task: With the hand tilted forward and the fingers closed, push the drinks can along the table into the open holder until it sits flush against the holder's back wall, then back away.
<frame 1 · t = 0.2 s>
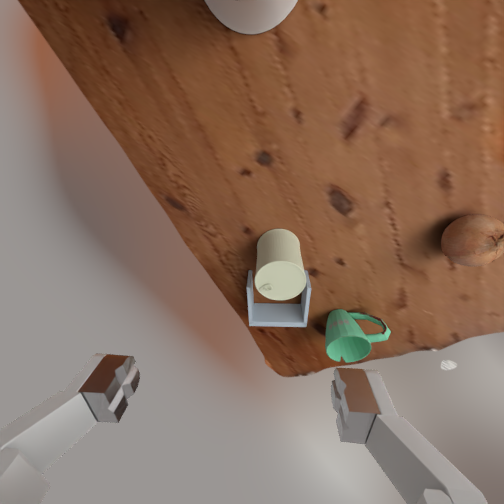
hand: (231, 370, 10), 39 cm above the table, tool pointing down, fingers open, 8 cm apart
holder: (277, 288, 59), on the table
mug: (347, 312, 62), on the table
onion: (456, 229, 47), on the table
can: (278, 246, 52), on the table
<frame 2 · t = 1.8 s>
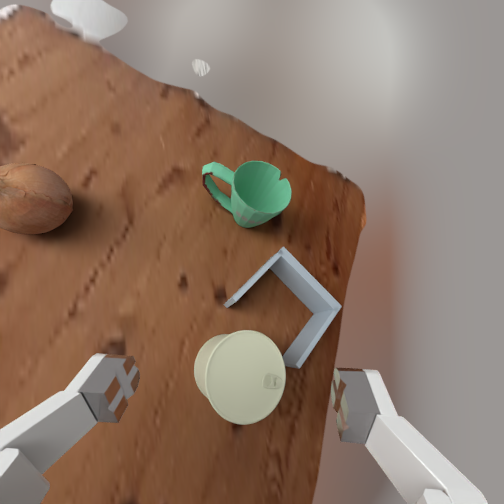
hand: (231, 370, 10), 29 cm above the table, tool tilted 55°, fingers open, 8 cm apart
holder: (274, 309, 42), on the table
mug: (233, 212, 46), on the table
onion: (45, 215, 36), on the table
can: (225, 366, 36), on the table
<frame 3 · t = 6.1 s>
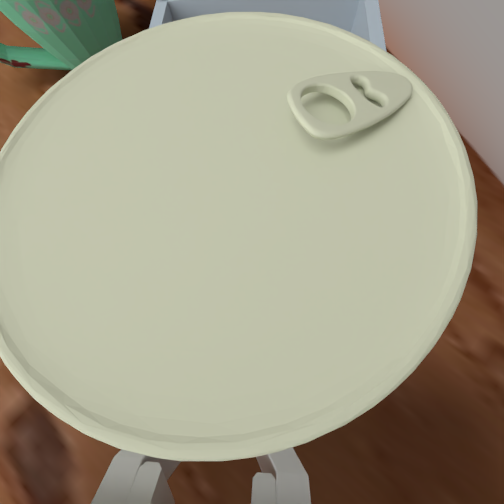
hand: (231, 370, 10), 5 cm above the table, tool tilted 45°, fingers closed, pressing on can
holder: (261, 135, 19), on the table
mug: (78, 72, 23), on the table
can: (253, 284, 16), on the table, touching gripper
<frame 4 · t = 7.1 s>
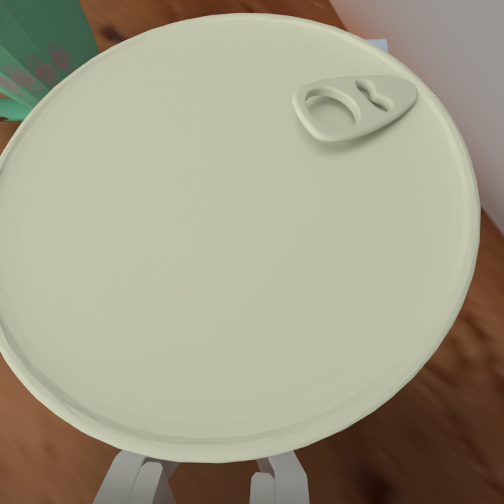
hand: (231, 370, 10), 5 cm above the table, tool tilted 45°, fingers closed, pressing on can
mug: (62, 120, 21), on the table
can: (253, 284, 16), on the table, touching gripper
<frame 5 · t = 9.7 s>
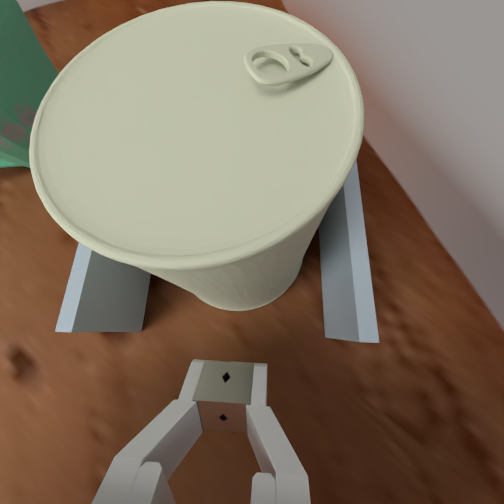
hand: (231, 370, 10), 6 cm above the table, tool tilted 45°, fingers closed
holder: (235, 250, 17), on the table
mug: (38, 163, 21), on the table
can: (239, 247, 18), on the table
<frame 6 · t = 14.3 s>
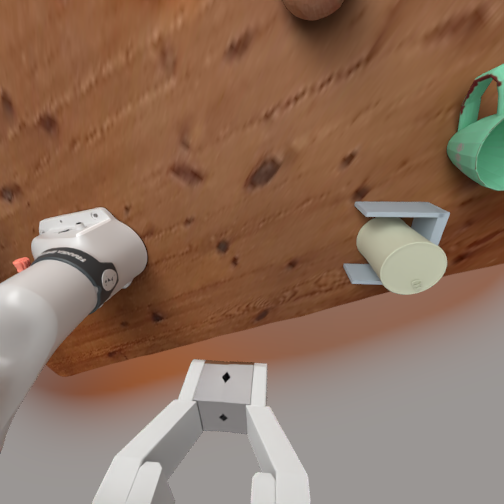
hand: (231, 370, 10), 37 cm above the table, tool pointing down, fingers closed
holder: (380, 236, 45), on the table
mug: (460, 129, 37), on the table
can: (381, 237, 46), on the table
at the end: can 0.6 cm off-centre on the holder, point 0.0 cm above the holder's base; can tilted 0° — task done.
